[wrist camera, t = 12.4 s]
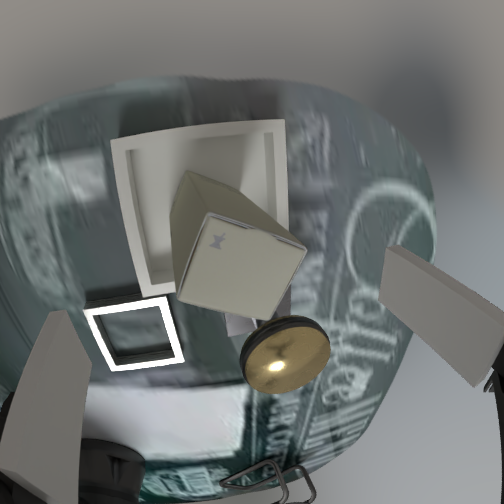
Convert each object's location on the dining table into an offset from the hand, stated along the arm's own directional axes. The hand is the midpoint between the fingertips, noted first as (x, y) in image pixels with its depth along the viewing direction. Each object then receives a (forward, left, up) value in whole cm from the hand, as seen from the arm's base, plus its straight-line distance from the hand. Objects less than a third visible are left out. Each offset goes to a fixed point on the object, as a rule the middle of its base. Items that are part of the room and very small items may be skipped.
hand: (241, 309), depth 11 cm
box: (0, 0, -15) cm, 15 cm away
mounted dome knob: (+4, -11, -16) cm, 19 cm away
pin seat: (-9, -12, -16) cm, 21 cm away
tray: (0, 0, -16) cm, 16 cm away
